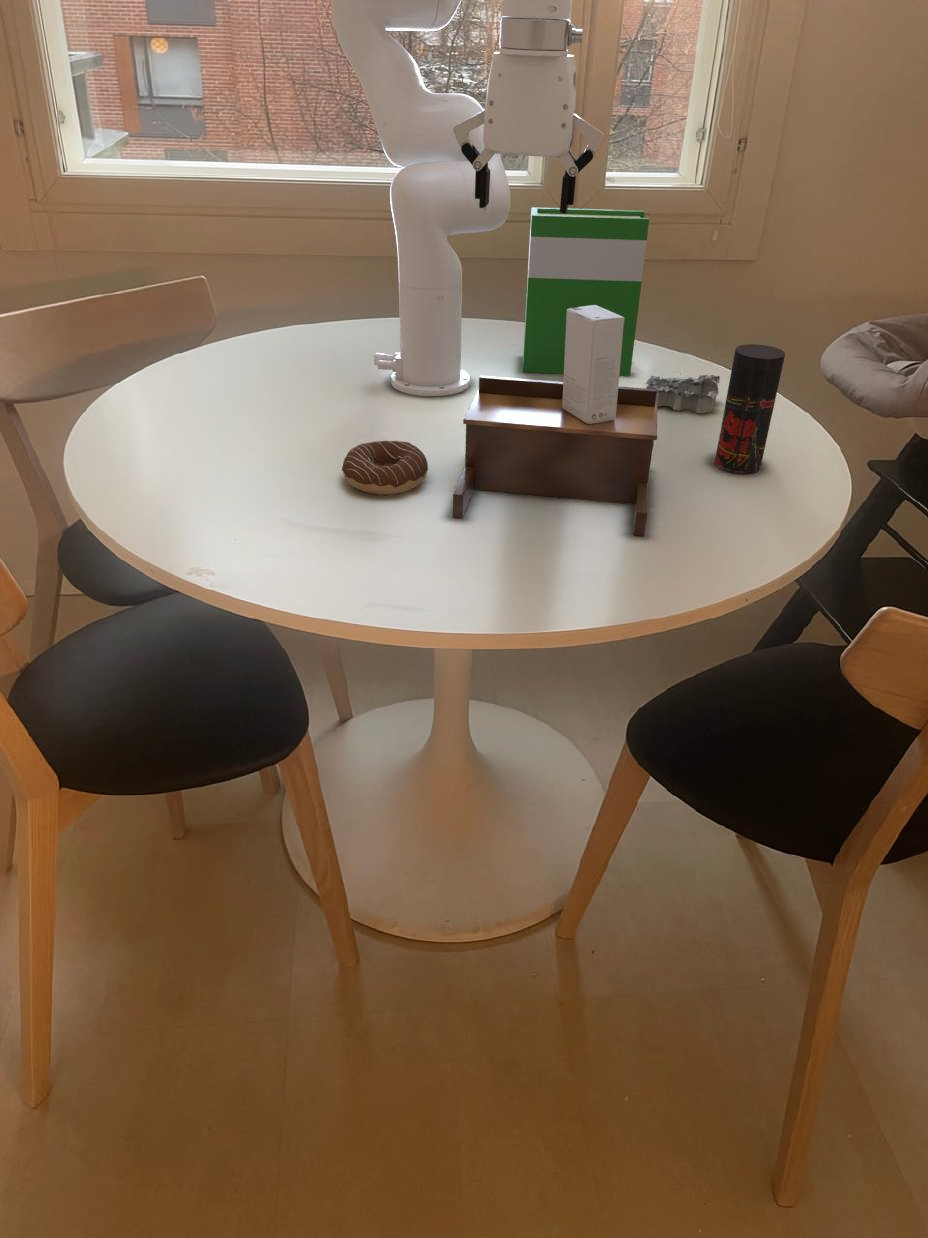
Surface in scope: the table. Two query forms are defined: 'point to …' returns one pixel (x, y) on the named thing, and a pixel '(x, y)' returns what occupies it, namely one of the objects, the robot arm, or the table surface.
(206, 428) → the table surface
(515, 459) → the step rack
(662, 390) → the egg carton
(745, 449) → the deodorant
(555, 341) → the hardback book
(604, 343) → the cosmetic box
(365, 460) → the donut
